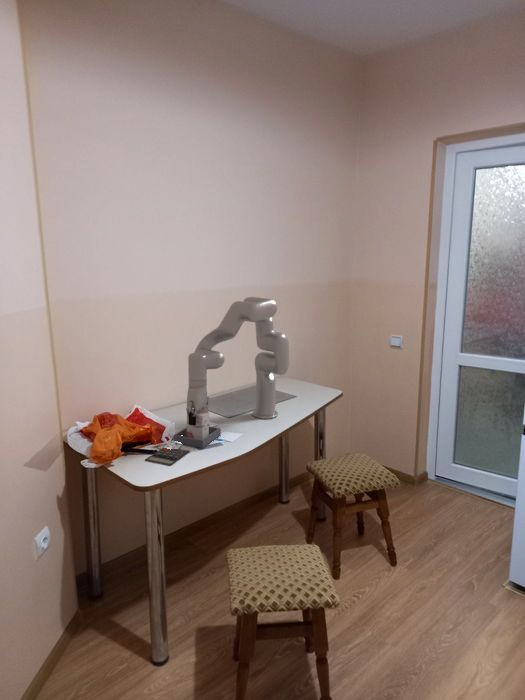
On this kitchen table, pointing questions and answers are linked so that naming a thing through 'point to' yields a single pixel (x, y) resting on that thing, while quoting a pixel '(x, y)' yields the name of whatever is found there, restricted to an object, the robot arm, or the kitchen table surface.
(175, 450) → the calculator
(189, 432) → the ink cartridge box
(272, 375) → the robot arm
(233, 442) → the kitchen table surface
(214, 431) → the desk tray
